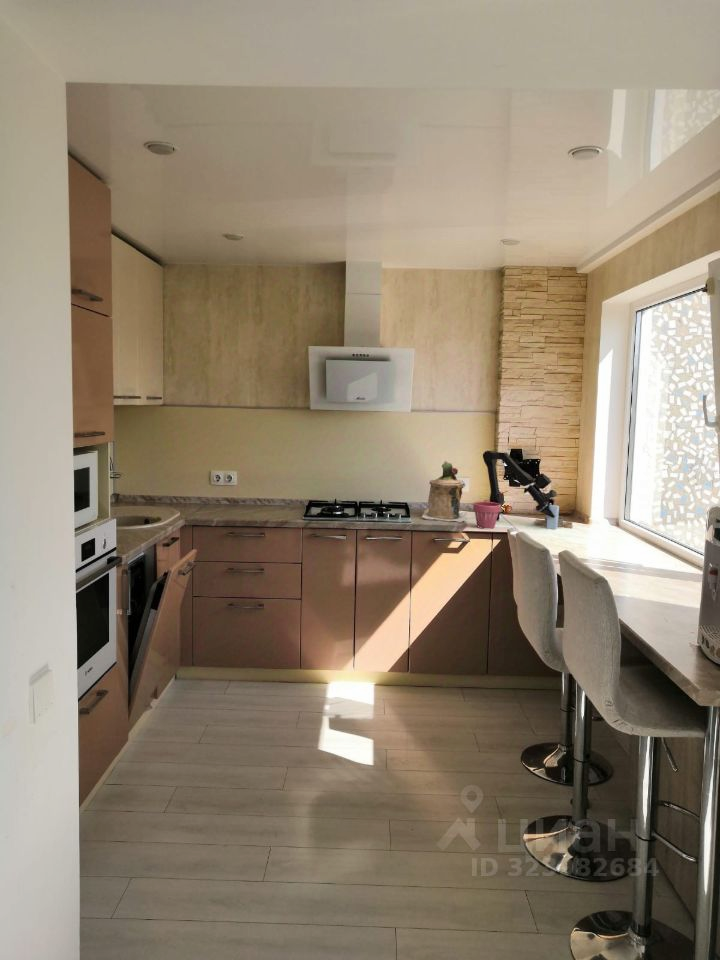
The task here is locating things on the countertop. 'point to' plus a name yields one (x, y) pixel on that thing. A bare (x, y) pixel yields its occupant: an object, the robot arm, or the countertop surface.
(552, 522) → the block
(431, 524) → the countertop surface
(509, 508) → the toy helicopter
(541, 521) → the jig cradle
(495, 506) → the plant pot
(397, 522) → the countertop surface
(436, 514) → the cookie jar
